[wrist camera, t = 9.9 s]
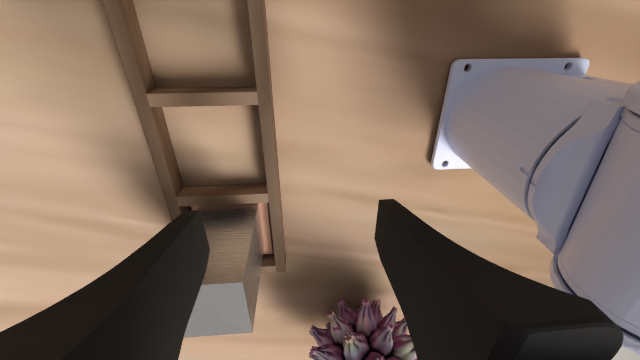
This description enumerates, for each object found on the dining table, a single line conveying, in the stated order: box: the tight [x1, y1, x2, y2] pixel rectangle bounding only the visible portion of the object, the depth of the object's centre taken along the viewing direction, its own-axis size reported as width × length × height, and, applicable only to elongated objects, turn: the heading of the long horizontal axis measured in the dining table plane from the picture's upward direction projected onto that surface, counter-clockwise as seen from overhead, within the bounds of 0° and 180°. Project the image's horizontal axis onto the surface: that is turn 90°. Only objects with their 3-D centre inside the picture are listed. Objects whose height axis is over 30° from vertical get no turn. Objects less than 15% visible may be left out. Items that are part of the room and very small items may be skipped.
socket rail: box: [103, 0, 286, 273], centre depth 20 cm, size 8×23×2 cm, turn 0°
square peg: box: [183, 203, 264, 338], centre depth 21 cm, size 5×5×8 cm
